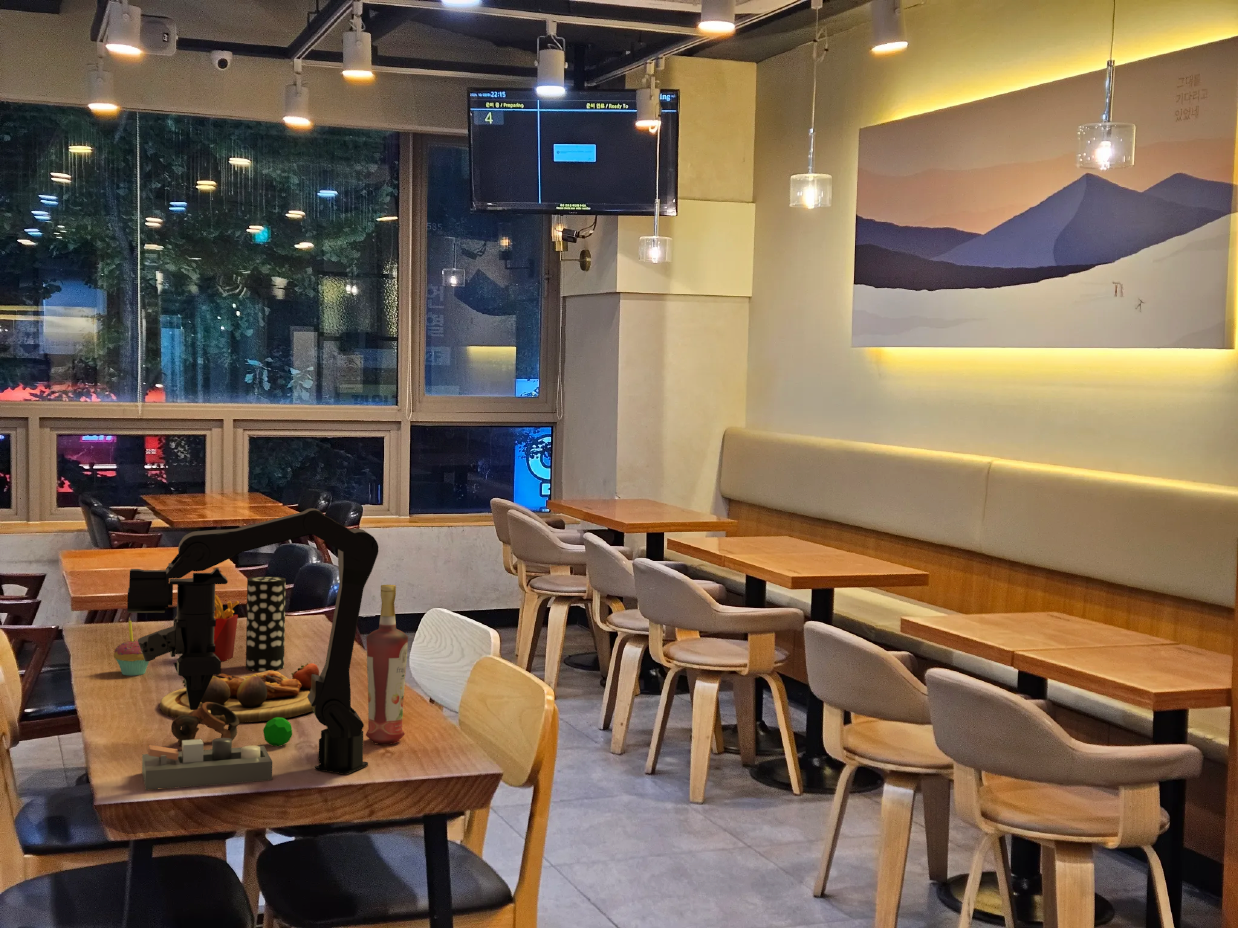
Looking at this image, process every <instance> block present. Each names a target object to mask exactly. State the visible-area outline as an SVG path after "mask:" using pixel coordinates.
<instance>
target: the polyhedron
mask: <svg viewBox="0 0 1238 928" xmlns="http://www.w3.org/2000/svg"><path fill="white" fill-rule="evenodd" d="M262 731H263V737H264V741H265V742H266V743H267V744H269V745H270V746H272V747H281V745H282V746H284V745H286V744H287V743H288V742H290V740H291V738H292V736H293V729H292V724H291V721H290V722H289V721H288V720H287V718H281V717H276V718H273V719H271V720H269V721H266V723H265V725H264V727H263V730H262Z"/></svg>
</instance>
